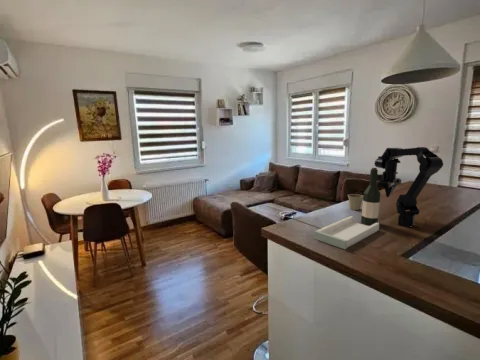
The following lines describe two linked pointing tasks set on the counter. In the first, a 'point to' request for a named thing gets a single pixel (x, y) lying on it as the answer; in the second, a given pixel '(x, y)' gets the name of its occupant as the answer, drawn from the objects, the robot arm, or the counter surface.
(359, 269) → the counter surface
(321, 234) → the tray
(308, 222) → the counter surface
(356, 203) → the flower pot
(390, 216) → the counter surface
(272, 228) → the counter surface
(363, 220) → the wine bottle
